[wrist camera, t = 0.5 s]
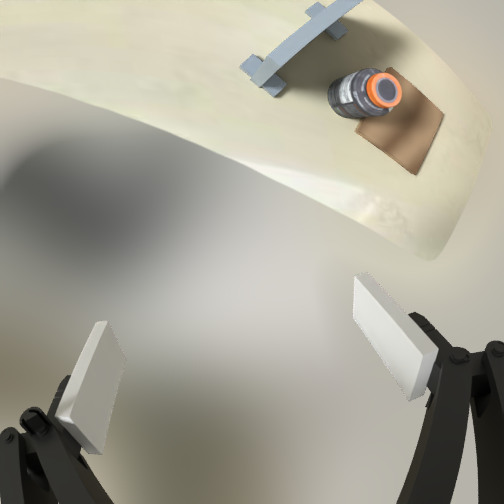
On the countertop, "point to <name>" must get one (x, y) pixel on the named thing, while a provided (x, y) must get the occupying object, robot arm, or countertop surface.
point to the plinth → (404, 126)
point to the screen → (297, 44)
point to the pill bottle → (364, 94)
